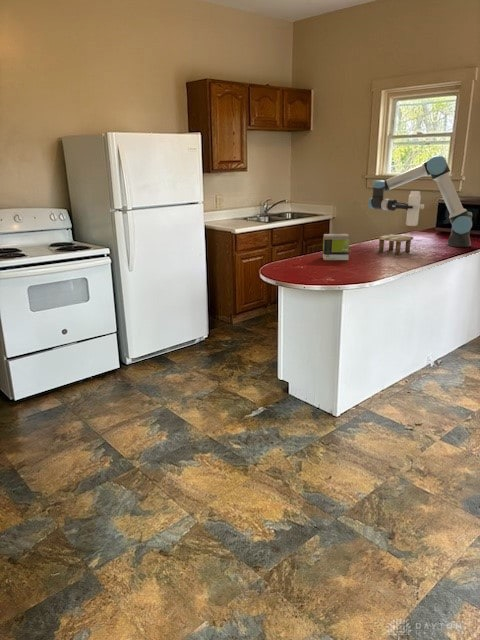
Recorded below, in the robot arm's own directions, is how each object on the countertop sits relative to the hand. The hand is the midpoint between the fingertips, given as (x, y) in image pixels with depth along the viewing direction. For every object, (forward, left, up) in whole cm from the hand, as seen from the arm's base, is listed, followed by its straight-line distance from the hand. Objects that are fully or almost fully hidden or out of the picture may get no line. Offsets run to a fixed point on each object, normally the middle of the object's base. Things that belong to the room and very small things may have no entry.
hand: (420, 207), depth 320 cm
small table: (+5, +19, -28) cm, 34 cm away
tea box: (+18, +64, -28) cm, 72 cm away
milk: (+5, 0, -12) cm, 13 cm away
